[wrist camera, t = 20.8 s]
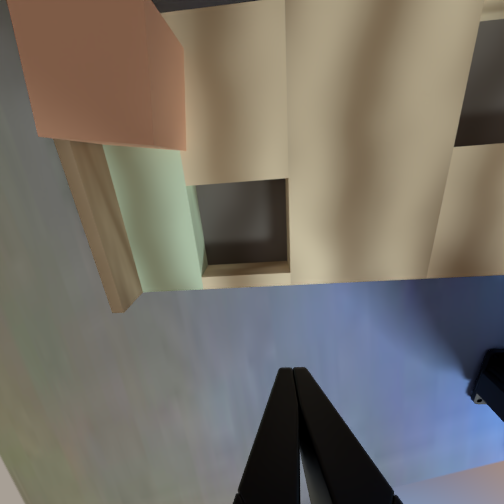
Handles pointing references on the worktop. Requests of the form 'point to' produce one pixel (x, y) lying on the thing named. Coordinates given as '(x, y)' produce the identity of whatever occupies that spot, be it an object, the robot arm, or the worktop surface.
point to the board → (311, 152)
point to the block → (102, 71)
